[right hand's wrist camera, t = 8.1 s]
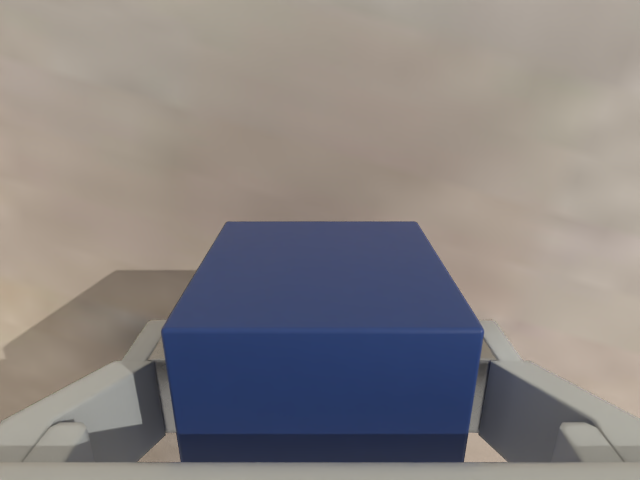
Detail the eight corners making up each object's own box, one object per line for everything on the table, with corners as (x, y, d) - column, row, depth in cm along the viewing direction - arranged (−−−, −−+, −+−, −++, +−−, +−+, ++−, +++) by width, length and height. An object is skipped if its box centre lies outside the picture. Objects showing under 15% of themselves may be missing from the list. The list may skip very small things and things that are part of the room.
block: (403, 381, 13) (450, 556, 8) (238, 381, 13) (193, 556, 8) (417, 220, 11) (486, 329, 7) (225, 220, 11) (158, 329, 7)
